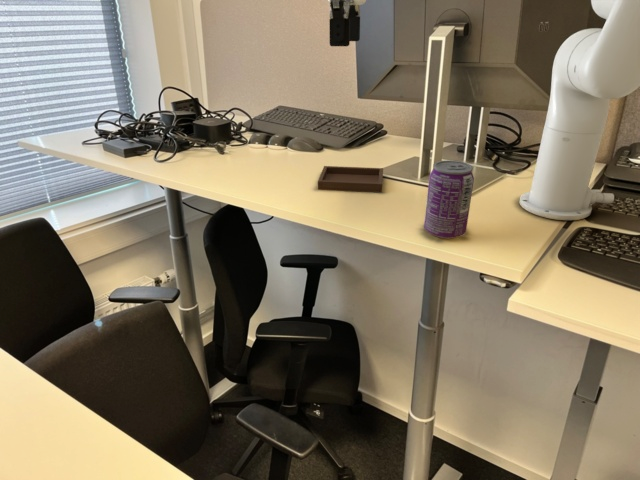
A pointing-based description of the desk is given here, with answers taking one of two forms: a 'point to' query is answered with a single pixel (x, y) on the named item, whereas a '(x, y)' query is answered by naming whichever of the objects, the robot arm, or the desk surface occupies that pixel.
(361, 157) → the desk surface
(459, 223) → the beverage can
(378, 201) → the desk surface
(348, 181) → the tray
